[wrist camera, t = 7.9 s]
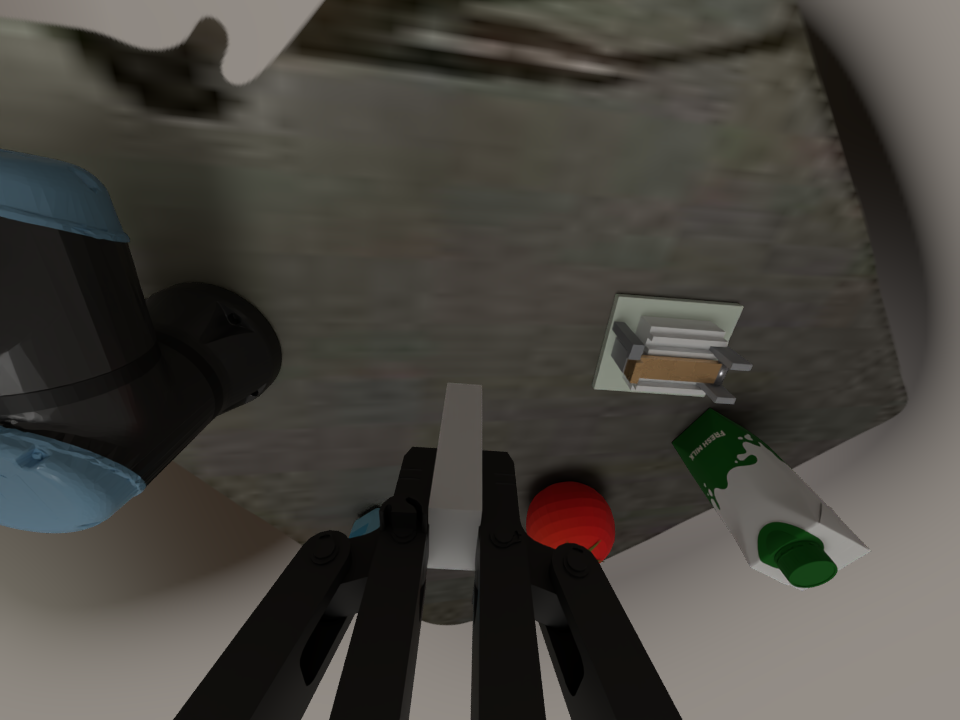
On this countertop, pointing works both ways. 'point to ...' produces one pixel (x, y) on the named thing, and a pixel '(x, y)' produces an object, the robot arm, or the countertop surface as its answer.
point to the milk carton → (766, 504)
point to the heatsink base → (668, 342)
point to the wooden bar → (676, 369)
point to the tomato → (572, 518)
